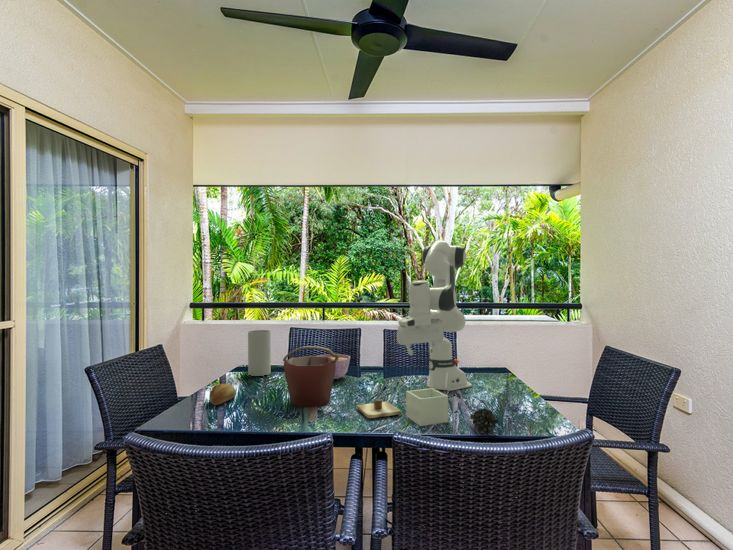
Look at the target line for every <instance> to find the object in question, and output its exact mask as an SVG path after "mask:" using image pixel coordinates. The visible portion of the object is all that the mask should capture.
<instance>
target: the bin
mask: <svg viewBox="0 0 733 550" xmlns="http://www.w3.org/2000/svg"><path fill="white" fill-rule="evenodd" d="M405 413H406V414H405V415H406V417H407V418H408V419H410V420H411V421H413V422H414V424H416V425H418V426H419V427H424V426H431V425H438V424H444V423H445V424H446V423H449V395H447V394H445V393H443V392H441V391H439V390H438V389H433V388H430V387H428V388H422V389H413V390H406V391H405Z"/></svg>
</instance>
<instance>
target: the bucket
mask: <svg viewBox="0 0 733 550" xmlns="http://www.w3.org/2000/svg"><path fill="white" fill-rule="evenodd" d="M303 349H315V350H321V351H325V352H327V354H330V355H331V356H335V359H334V360H333V359H332V358H331V357H321V356H319V355H306V356H299V357H290V355H292V354H293V353H295V352H297V351H300V350H303ZM336 354H337V353H334V352H333V351H332V350H331V349H330V348H327V347H323V346H317V345H305V346H301V347H298V348H295V349H293V350H292V351H289V352H288V353H287V354H286V355H285V356H284V357H283V358H282V361H283V371H284V377H285V380H286V386H287V390H288V396H289V400H290V404H291V405H292V406H295V407H298V408H300V409H306V408H307V409H309V408H310V409H311V408H320V407H324V406H325V405H327V404H330V401H331V395H332V389H333V384H334V381H335V380H334V374H335V369H336V362H337V360H338V359H339V357H338V356H337V355H336ZM288 357H290V358H289V359H287V358H288Z"/></svg>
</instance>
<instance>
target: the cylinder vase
mask: <svg viewBox="0 0 733 550" xmlns="http://www.w3.org/2000/svg"><path fill="white" fill-rule="evenodd" d="M271 356H272V355H271V330H268V329H255V330H249V331H247V370H248V372H247V374H248V376H249V375H251V376H263V377H265V376H264V375H267V376H270V374H272V373H271V367H272V366H271V365H272V364H271ZM251 376H250V377H251Z"/></svg>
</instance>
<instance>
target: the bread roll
mask: <svg viewBox="0 0 733 550" xmlns="http://www.w3.org/2000/svg"><path fill="white" fill-rule="evenodd" d="M236 395H237V392H236V389H235V387H234V385H232V384H230V383H218V384H216V385H214V386H213V387H212V388H211V391H210V392H209V399H210V403H211V404H212V405H214V406H220V405H221V404H224V403H226V402H228V401H231V400H233V399H234V398H235V397H236ZM232 398H233V399H232ZM219 404H220V405H219Z"/></svg>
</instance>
